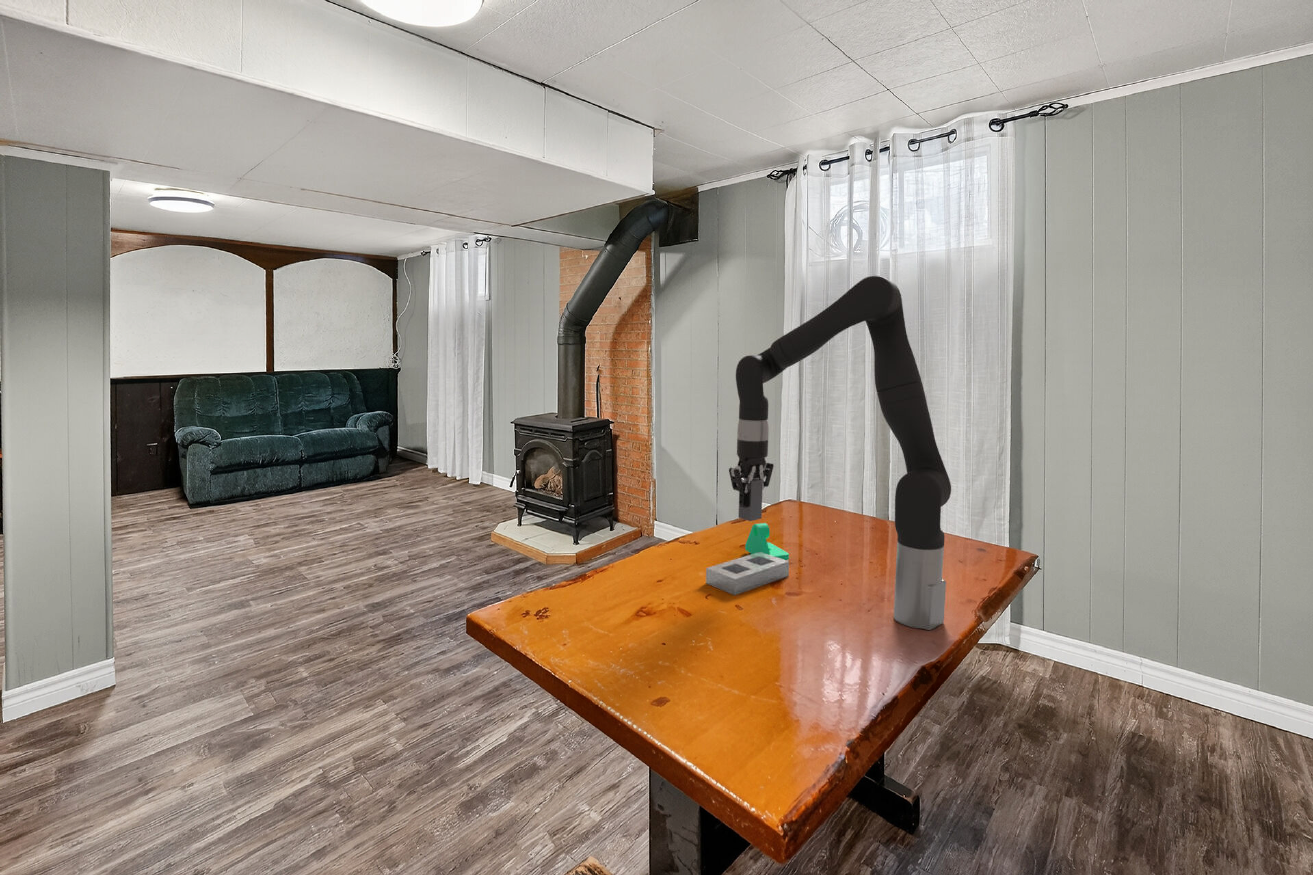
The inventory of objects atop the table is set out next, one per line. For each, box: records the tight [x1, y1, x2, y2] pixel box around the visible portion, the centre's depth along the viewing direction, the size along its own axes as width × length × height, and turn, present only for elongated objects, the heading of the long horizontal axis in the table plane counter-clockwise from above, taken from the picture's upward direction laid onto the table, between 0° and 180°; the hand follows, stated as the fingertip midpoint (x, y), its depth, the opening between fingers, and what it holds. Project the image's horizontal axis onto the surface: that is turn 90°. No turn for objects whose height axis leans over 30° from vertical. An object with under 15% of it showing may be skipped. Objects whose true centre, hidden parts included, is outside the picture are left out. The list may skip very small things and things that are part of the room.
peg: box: [737, 478, 764, 522], centre depth 156 cm, size 4×4×10 cm
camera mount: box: [744, 522, 790, 561], centre depth 177 cm, size 12×8×10 cm, turn 19°
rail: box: [705, 552, 790, 596], centre depth 160 cm, size 10×20×4 cm, turn 129°
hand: (750, 505), depth 156 cm, fingers closed on peg, 4 cm apart
